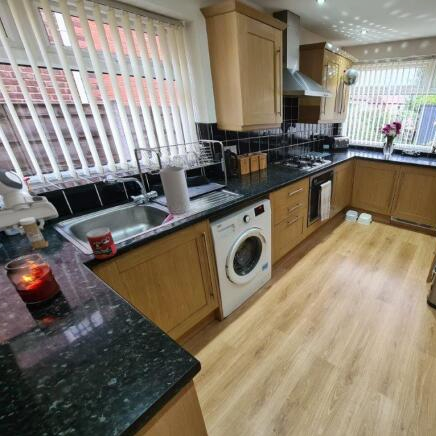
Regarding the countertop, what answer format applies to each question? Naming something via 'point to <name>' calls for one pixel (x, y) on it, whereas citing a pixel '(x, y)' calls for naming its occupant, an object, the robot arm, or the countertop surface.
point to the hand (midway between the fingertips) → (33, 231)
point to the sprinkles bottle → (33, 232)
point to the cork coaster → (42, 247)
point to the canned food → (101, 243)
